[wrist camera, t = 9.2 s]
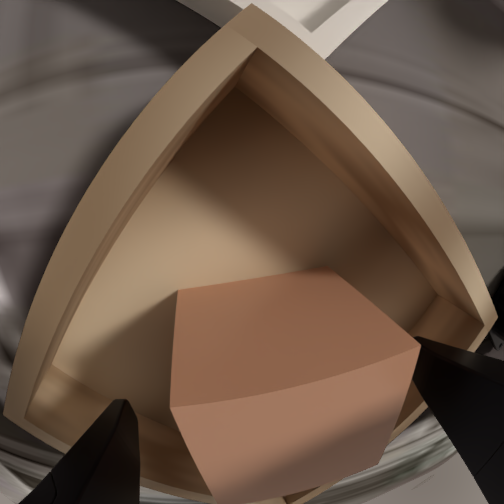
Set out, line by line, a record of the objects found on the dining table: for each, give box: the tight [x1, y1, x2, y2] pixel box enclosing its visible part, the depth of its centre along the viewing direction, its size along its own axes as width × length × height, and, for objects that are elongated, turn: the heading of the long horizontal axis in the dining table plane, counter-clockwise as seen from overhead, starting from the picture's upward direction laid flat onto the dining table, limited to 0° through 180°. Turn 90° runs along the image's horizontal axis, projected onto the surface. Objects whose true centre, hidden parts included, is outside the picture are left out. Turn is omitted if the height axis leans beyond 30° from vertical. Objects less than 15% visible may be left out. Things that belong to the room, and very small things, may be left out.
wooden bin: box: [3, 3, 498, 504], centre depth 9 cm, size 14×14×4 cm
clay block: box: [170, 266, 421, 504], centre depth 8 cm, size 5×5×5 cm
